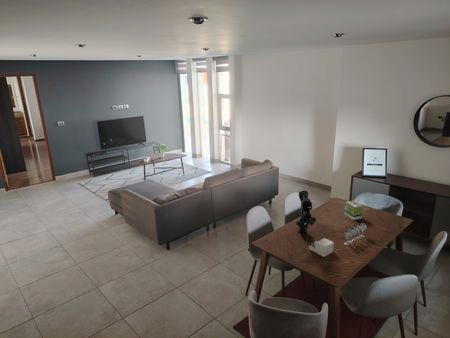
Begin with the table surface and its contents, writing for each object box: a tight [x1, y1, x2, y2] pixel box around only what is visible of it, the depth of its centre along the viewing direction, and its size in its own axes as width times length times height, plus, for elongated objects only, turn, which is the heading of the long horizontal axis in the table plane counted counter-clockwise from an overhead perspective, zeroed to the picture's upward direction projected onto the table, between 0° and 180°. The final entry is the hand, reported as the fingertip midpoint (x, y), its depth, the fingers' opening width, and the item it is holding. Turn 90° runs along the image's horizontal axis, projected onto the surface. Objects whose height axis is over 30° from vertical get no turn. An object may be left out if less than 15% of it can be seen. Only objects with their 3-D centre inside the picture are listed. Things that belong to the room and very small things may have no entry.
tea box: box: [343, 200, 363, 221], centre depth 317 cm, size 15×10×15 cm
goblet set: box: [343, 222, 367, 246], centre depth 274 cm, size 28×6×13 cm, turn 124°
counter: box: [308, 237, 335, 258], centre depth 259 cm, size 15×12×9 cm
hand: (305, 230), depth 271 cm, fingers closed
